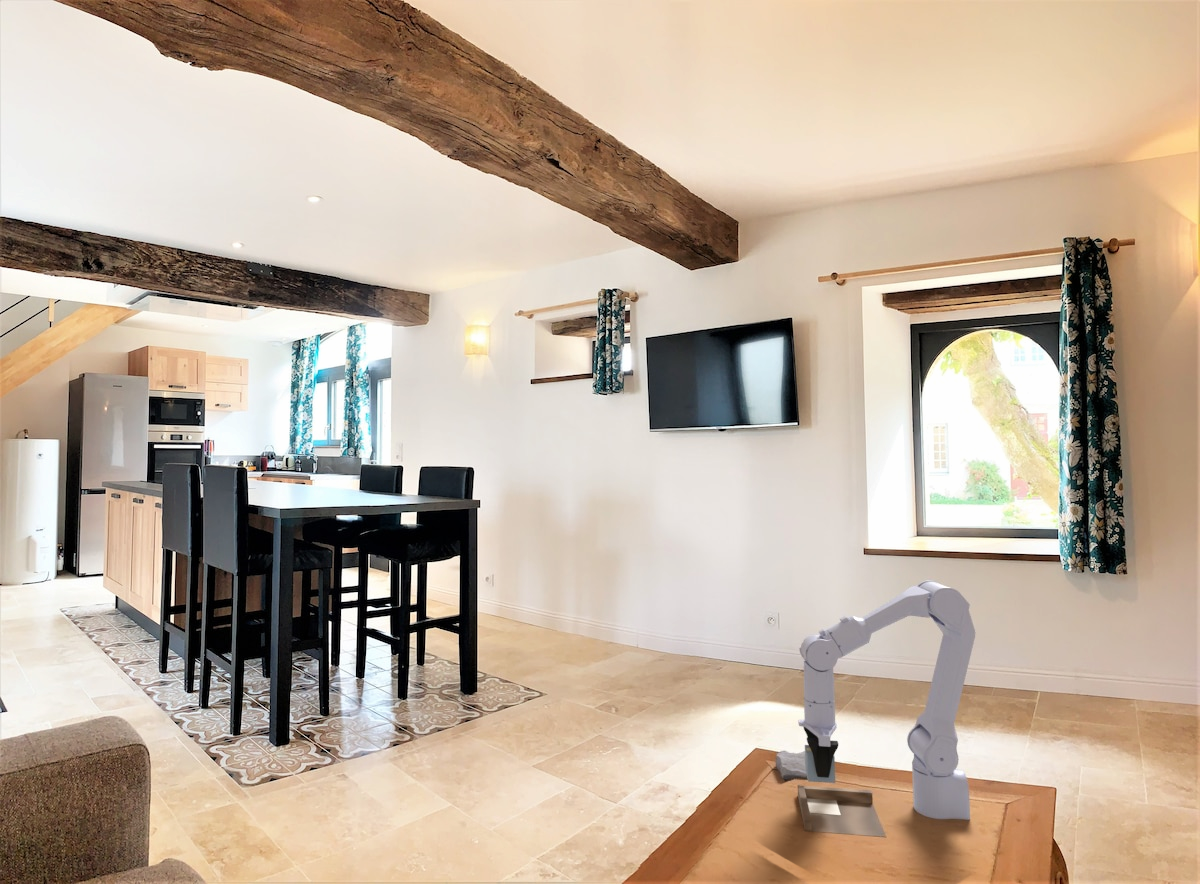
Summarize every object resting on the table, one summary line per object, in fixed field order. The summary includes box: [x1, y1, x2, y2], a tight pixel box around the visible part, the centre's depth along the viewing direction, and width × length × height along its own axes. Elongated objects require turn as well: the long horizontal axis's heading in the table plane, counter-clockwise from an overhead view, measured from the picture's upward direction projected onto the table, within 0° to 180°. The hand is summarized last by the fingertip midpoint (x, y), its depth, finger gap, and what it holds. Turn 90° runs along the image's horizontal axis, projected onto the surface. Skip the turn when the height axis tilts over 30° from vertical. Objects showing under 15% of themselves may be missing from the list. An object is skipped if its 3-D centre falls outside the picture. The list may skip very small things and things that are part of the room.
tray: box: [797, 785, 887, 838], centre depth 133 cm, size 14×14×3 cm
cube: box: [804, 744, 836, 784], centre depth 137 cm, size 5×5×5 cm
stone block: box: [775, 750, 807, 781], centre depth 154 cm, size 12×5×10 cm
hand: (821, 770), depth 137 cm, fingers closed on cube, 5 cm apart
